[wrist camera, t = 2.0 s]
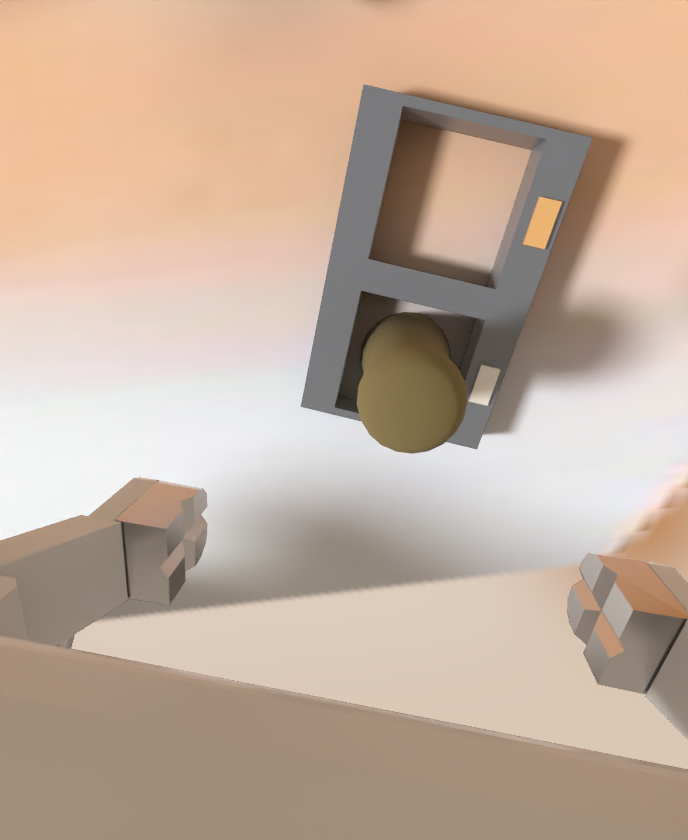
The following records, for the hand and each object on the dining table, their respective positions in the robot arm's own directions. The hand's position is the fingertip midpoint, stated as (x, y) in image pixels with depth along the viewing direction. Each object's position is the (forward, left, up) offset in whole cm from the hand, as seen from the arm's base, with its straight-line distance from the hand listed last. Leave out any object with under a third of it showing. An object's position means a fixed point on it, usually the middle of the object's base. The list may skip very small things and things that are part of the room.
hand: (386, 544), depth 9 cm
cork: (0, -1, -22) cm, 22 cm away
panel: (+4, -1, -21) cm, 22 cm away
